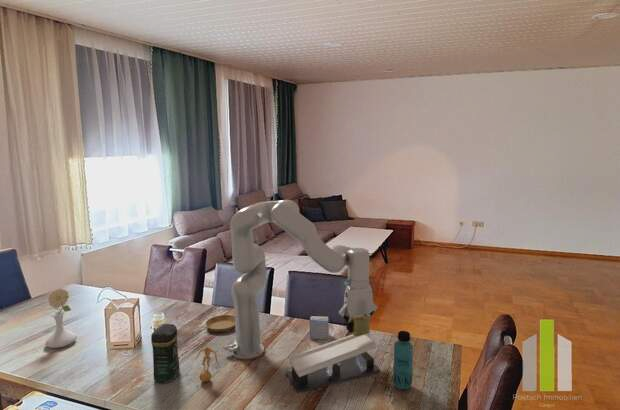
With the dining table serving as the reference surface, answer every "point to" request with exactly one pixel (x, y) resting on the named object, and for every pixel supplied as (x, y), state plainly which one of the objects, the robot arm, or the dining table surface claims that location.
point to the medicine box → (319, 327)
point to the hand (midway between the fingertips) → (357, 329)
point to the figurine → (206, 374)
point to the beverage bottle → (403, 361)
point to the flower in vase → (59, 320)
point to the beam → (330, 353)
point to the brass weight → (360, 325)
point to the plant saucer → (221, 323)
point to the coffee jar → (165, 353)
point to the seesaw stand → (334, 373)
